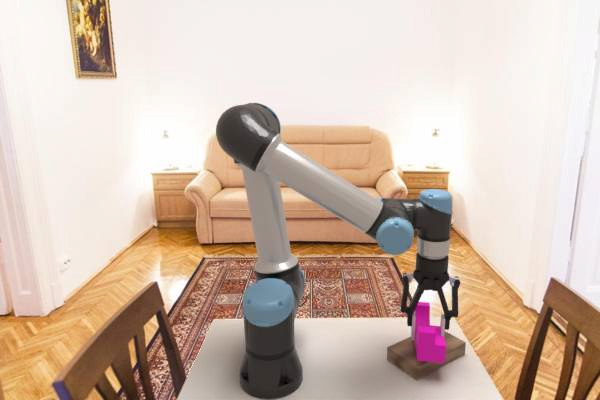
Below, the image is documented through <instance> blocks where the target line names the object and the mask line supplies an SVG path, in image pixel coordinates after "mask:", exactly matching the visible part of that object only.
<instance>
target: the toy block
mask: <svg viewBox="0 0 600 400" xmlns="http://www.w3.org/2000/svg"><path fill="white" fill-rule="evenodd" d="M430 308H431V305H430V302H426V301H419V302H418V304H417V306H416V309H415V311H414V312H415V315H416V320H415V337H414V340H415V347H416V355H417V360H418V361H428V362H439V363H445V355H446V343H445V339H444V336H442V335H441V329H440V325H431V320H430V319H431V317H430V315H431V313H430V312H431V311H430V310H431V309H430Z"/></svg>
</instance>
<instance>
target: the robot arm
mask: <svg viewBox="0 0 600 400" xmlns="http://www.w3.org/2000/svg"><path fill="white" fill-rule="evenodd" d="M215 127H216V128H215V137H216V140H217V142H218V145H219V147H220V148H221V149H222V151H223V152H224V153H225V154H227V156H228V157H231V158H232V159H233V162H234V165H235V166H237V167H238V168H239V169H241V170H242V171H241V172H242V177H243V182H244V189H245V193H246V200H247V204H248V210H249V215H250V221H251V225H252V231H253V236H254V243H255V247H256V252H257V253H256V254H257V261H256V262H255V264H253V270H254V276H255V281H256V282H253V283H251V284H249V286H247V287H246V289H245V290H244V293H243V296H242V304H241V305H242V313H243V325H244V327H243V328H244V340H245V341H244V343H245V352H244V356H243V359H242V362H241V365H240V369H239V382H240V386H241V387H242V389H243V390H244V391H245V392H246V393H247V394H249V395H250V396H253V397H255V398H259V399H270V400H271V399H278V398H282V397H285V396H288V395H290V394H291V393H293V392H295V391H296V390H297V389H298V388H299V387H300V385H301V384H302V382H303V373H304V372H303V370H304V369H303V365H302V362H301V359H300V357H299V354H298V353H297V350H296V346H295V345H296V343H295V341H296V340H295V339H296V338H295V320H296V319H295V318H296V315H297V313H298V309H299V306H300V304H301V301H302V298H303V296H304V293H305V289H306V278H305V274H304V272H303V270H302V268H301V267H300V263H299V259H298V257H297V256H295V254H293V253H292V250H291V249H292V248H291V245H290V243H291V242H290V237H289V232H288V227H287V225H288V224H287V221H286V213H285V207H284V201H283V195H282V190H281V189H282V188H281V184H283V185H284V186H286V187H288V188H290V189H292V190H293V191H295V192H297V193H298V194H300V195H301V196H303V197H305V198H306V199H308V201H311V202H313V203H314V204H316V205H317V206H319V207H321V208H322V209H325V210H326V211H327V212H329V213H331V214H332V215H334V216H335V217H337V218H338V219H341V220H342V221H344V222H345V223H347V224H348V225H350V226H352V227H353V228H355V229H357V230H358V231H360V232H362V233H364V234H365V235H367V236H368V237H369V238H371V239H373V240H374V241H376V243H377V245H378V247H379V248H380V250H382V251H383V252H384V253H386V254H388V255H391V256H398V255H399V256H400V255H402V254H405V253H407V252H408V251H410V249H411V248H412V246H413V245H414V240H415V231H417V237H416V255H415V269H414V271H413V272H412V273H407V272H403V273H402V282H403V288H402V295H401V301H400V313H402V314H406V315H407V317H406V320H407V321H406V324H407V326H408V327H410V328H411V329H410V337H411V340H414V337H415V320H416V315H415V312H414V311H415V309H416V306H417V304H418V302H420V300H421V298H422V295H423V294H424V293H425V291H433V292H437V295H438V297H439V298H438V299H439V301H440V304H441V307H442V311H443V313H440V325H439V326H440V329H441V335H442V336H444V332H445V331H446V330H447V331H449V329H450V322H451V319H452V318H458V317H459V287H460V285H461V280H460V278H459V276H456V275H455V276H452V275H450V274H449V254H450V245H451V244H450V243H451V231H452V230H451V229H452V228H451V227H452V220H453V219H452V218H453V216H452V215H453V212H454V211H453V196H452V194H451V193H450V192H449V191H447V190H444V189H437V188H430V189H423V190H421V191H420V193H419V196H418V198H391V197H387V198H386V197H380V198H379V197H377V198H376V197H374V196H372V195H371V194H369V193H368V192H366V191H364V190H363V189H361V188H359V187H358V186H356V185H354V184H353V183H351V182H349V181H348V180H346V179H345V178H343V177H341V176H340V175H338V174H337V173H335V172H333V171H331V170H330V169H329V168H326V167H325V166H323V165H322V164H320V163H319V162H317V161H315V160H314V159H312V158H311V157H309V156H307V155H305V154H304V153H302V152H300V151H299V150H297V149H296V148H294V147H293V146H291V145H289V144H288V143H286V142H284V141H283V138H282V136H281V132H282V131H281V121H280V119H279V116H278V115H277V113H276V111H274V110H273V109H272V108H270V107H269V106H267V105H266V104H263V103H259V102H249V103H245V104H237V105H233V106H231V107H229V108H227V109H226V110H225V111H224V112H222V114H220V117H219V118H218V119H217V122H216V126H215ZM413 279H414V281H416V283H417V286H416V289H415V292H414V294H413V296H412V298H411V300H410V302H409V305H408V298H409V292H410V284H411V283H412V282H413ZM448 282H449V285H450V286H451V309H449V307H448V303H447V299H446V297H445V293H444V289H443V287H444V286H445V285H446V284H447V283H448ZM407 305H408V306H407Z"/></svg>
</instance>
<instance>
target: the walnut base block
mask: <svg viewBox="0 0 600 400" xmlns="http://www.w3.org/2000/svg"><path fill="white" fill-rule="evenodd" d="M444 339H445V343H446V355H445V363H439V362H428V361H418V360H417V355H416V347H415V340H411V336H409V337H407V338H405V339H402V340H400V341H398V342H396V343H394V344H391V345H389V346H387V351H386V360H387V362H390V363H391V364H392V365H394V366H395V367H397V368H398V369H400V370H401V371H403V372H404V373H406V374H407V375H409V376H410V377H411V378H413V379H414V380H415V381H419V380H420V379H423V378H424V377H426V376H428V375H430V374H431V373H434V372H435V371H437V370H438V369H441V368H442V367H444V366H446V365H449V363H452V362H454V361H455V360H457V359H459V358H461V357H463V356H465V355H466V345H467V342H466V341H465V340H463V339H460V338H458V337H457V336H455V335H453V334H451V333H449V332H448V331H446V330H445V332H444Z"/></svg>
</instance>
